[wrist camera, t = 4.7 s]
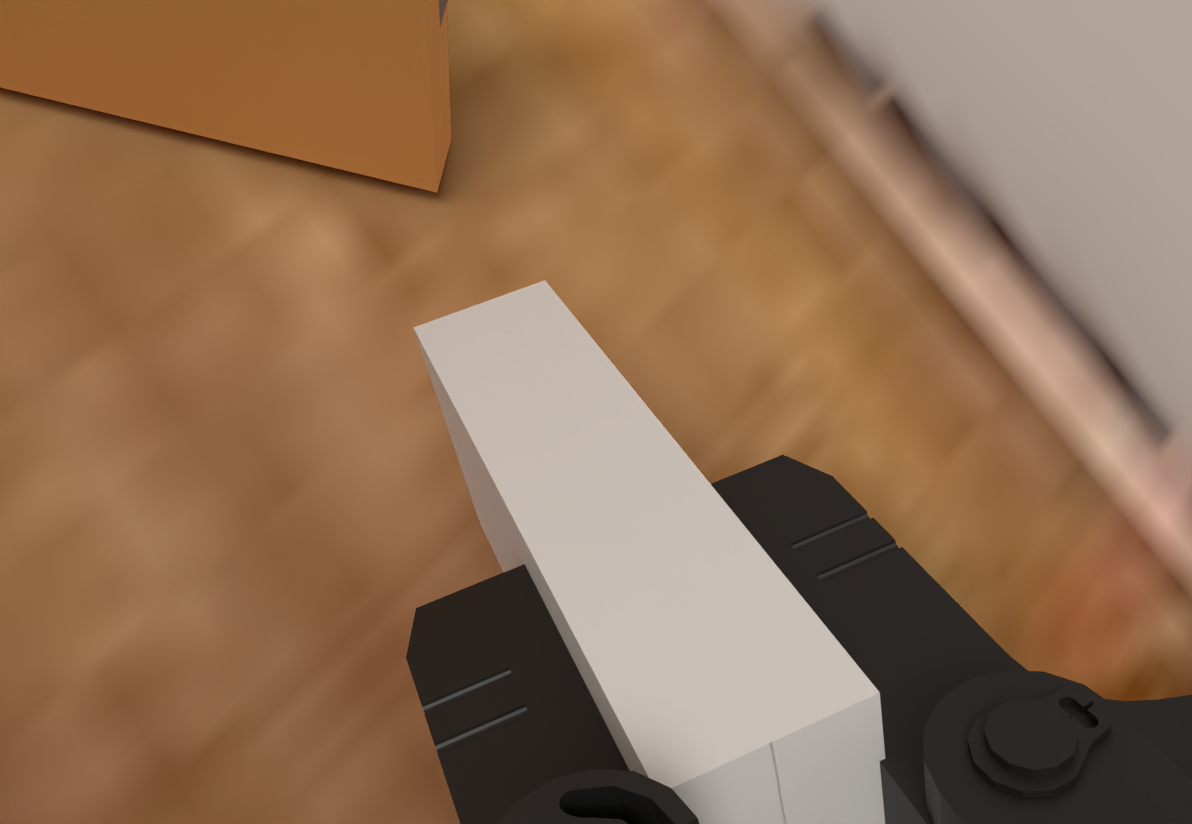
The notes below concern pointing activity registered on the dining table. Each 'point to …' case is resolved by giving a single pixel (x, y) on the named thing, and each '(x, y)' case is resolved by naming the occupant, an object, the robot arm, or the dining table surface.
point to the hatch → (252, 73)
